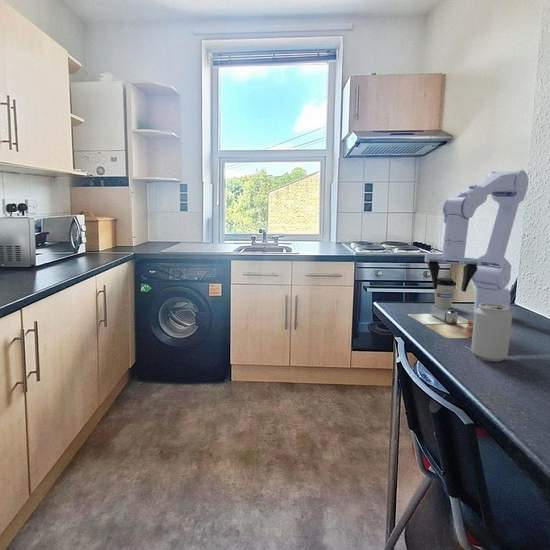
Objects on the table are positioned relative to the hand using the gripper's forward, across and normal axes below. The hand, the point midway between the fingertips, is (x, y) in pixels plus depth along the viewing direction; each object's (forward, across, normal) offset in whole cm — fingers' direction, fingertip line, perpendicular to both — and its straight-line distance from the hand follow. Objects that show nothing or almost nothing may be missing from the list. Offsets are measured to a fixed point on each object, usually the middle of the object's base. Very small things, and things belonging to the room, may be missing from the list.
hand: (449, 289), depth 121 cm
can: (+11, +5, -24) cm, 27 cm away
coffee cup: (+10, +3, +20) cm, 22 cm away
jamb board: (+10, +2, 0) cm, 10 cm away
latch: (+9, 0, +3) cm, 10 cm away
